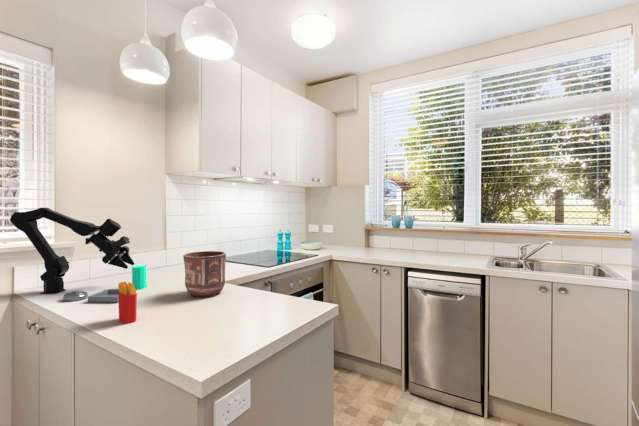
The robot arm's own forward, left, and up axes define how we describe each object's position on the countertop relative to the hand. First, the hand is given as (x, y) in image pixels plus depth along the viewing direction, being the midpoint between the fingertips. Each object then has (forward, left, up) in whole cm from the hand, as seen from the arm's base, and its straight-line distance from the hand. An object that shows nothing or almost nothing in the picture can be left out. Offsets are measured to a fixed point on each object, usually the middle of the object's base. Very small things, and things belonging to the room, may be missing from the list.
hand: (130, 266), depth 152 cm
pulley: (-12, -18, -10) cm, 24 cm away
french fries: (+25, -42, -11) cm, 50 cm away
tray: (+3, -17, -10) cm, 20 cm away
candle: (+4, +1, -11) cm, 11 cm away
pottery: (+39, -8, -11) cm, 41 cm away
